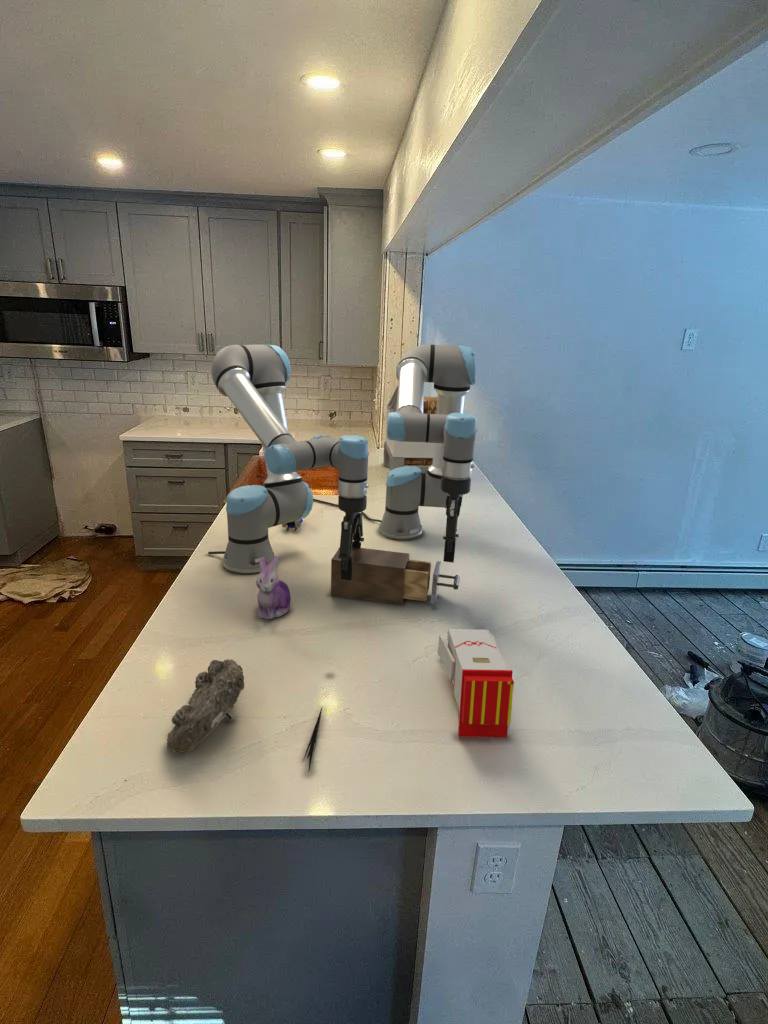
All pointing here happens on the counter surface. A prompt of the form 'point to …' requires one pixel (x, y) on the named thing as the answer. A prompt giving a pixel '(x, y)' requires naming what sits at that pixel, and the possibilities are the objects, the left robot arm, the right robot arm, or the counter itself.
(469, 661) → the toy
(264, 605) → the figurine
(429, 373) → the right robot arm
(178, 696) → the counter surface
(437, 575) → the drawer
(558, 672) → the counter surface
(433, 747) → the counter surface
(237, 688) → the fossil
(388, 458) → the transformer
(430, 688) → the counter surface
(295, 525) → the figurine character
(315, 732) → the feather
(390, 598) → the cabinet
